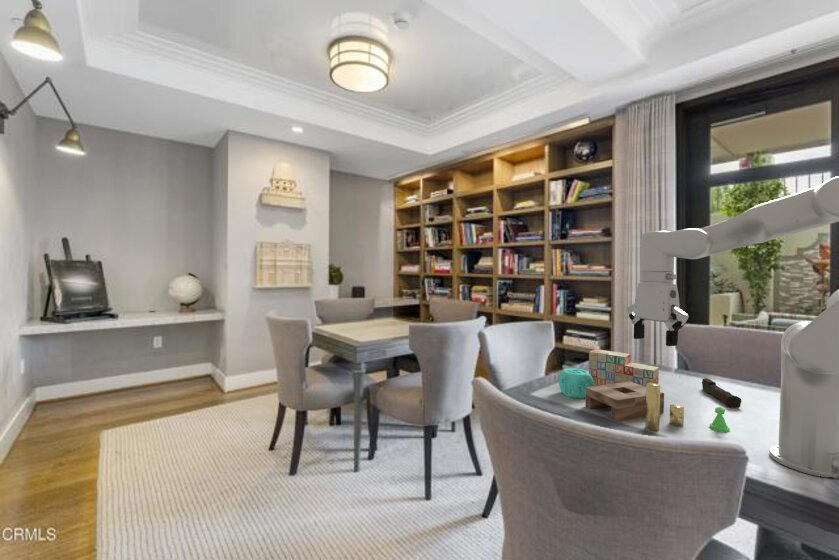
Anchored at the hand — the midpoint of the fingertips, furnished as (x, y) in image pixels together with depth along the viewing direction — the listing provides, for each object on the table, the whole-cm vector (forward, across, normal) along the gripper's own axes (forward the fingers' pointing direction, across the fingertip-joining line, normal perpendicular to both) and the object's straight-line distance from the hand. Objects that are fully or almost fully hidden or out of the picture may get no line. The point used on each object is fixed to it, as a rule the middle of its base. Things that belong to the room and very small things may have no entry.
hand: (654, 341), depth 103 cm
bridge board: (+24, +13, -4) cm, 27 cm away
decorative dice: (+24, +29, 0) cm, 37 cm away
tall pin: (+24, 0, 0) cm, 24 cm away
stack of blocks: (+24, +29, -20) cm, 42 cm away
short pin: (+24, 0, -9) cm, 25 cm away
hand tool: (+24, +11, -41) cm, 49 cm away
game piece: (+24, -6, -17) cm, 30 cm away
